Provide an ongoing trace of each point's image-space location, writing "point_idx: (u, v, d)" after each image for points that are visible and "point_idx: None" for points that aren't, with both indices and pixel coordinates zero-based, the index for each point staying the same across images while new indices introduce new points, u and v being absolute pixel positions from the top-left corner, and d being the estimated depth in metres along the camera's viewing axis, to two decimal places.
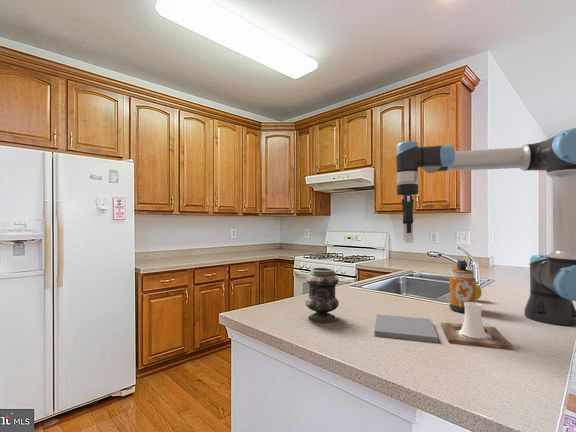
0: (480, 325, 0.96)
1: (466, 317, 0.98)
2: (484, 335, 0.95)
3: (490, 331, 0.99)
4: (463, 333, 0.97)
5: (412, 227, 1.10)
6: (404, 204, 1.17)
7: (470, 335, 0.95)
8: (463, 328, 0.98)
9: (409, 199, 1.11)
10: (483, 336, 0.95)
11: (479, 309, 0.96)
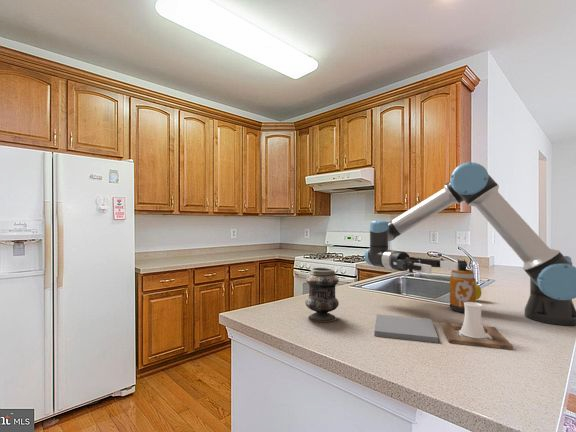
0: (480, 325, 0.96)
1: (466, 317, 0.98)
2: (484, 335, 0.95)
3: (490, 331, 0.99)
4: (463, 333, 0.97)
5: (416, 263, 1.08)
6: None
7: (470, 335, 0.95)
8: (463, 328, 0.98)
9: (395, 262, 1.17)
10: (483, 336, 0.95)
11: (479, 309, 0.96)
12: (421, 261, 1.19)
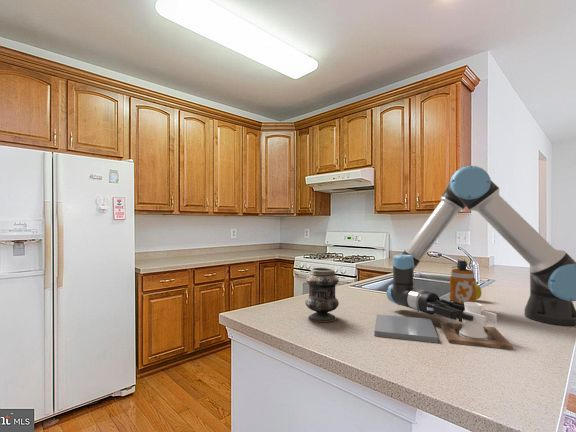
0: (480, 325, 0.96)
1: None
2: (484, 335, 0.95)
3: (490, 331, 0.99)
4: (463, 333, 0.97)
5: (467, 312, 0.96)
6: None
7: (470, 335, 0.95)
8: (463, 328, 0.98)
9: (430, 308, 1.04)
10: (483, 336, 0.95)
11: (479, 309, 0.96)
12: (452, 306, 1.06)
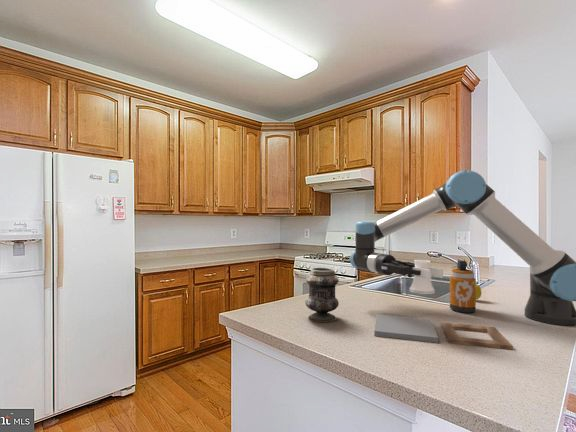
0: (428, 280, 1.00)
1: None
2: (431, 289, 1.00)
3: (490, 331, 0.99)
4: (412, 288, 1.02)
5: (415, 268, 1.01)
6: None
7: (418, 289, 1.00)
8: (412, 283, 1.03)
9: (384, 267, 1.09)
10: (430, 290, 0.99)
11: (427, 265, 1.01)
12: (405, 265, 1.10)
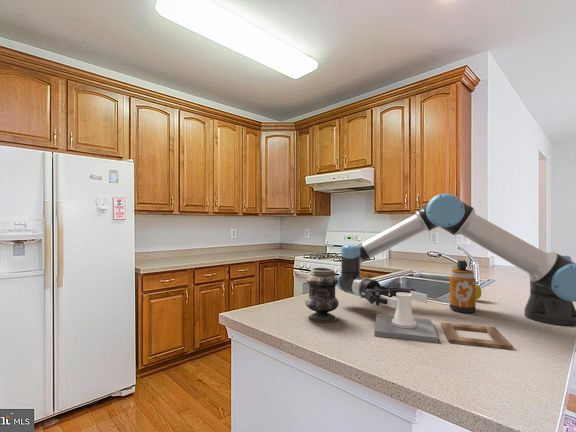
0: (409, 314, 1.02)
1: (397, 306, 1.04)
2: (412, 323, 1.01)
3: (490, 331, 0.99)
4: (394, 321, 1.03)
5: (383, 296, 1.03)
6: None
7: (399, 323, 1.01)
8: (394, 317, 1.04)
9: (363, 292, 1.11)
10: (411, 324, 1.01)
11: (408, 299, 1.02)
12: (391, 291, 1.13)
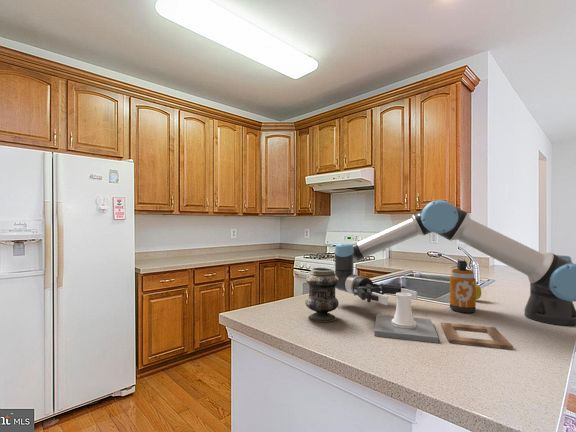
0: (409, 314, 1.02)
1: (397, 306, 1.04)
2: (412, 323, 1.01)
3: (490, 331, 0.99)
4: (394, 321, 1.03)
5: (374, 293, 1.05)
6: None
7: (399, 323, 1.01)
8: (394, 317, 1.04)
9: (355, 290, 1.14)
10: (411, 324, 1.01)
11: (408, 299, 1.02)
12: (383, 288, 1.16)
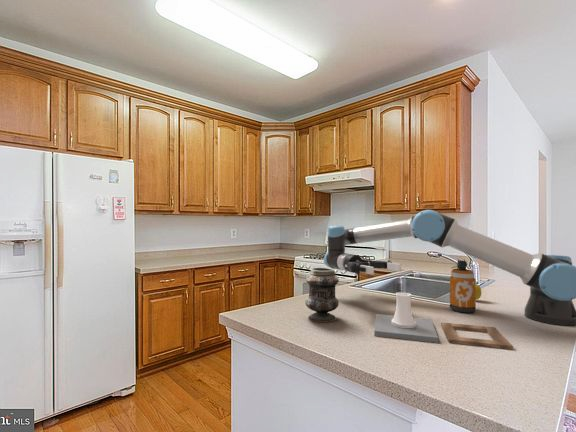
0: (409, 313, 1.02)
1: (397, 306, 1.04)
2: (412, 323, 1.01)
3: (490, 331, 0.99)
4: (394, 321, 1.03)
5: (362, 265, 1.17)
6: None
7: (399, 323, 1.02)
8: (394, 317, 1.04)
9: (346, 265, 1.26)
10: (411, 324, 1.01)
11: (408, 298, 1.02)
12: (371, 263, 1.28)
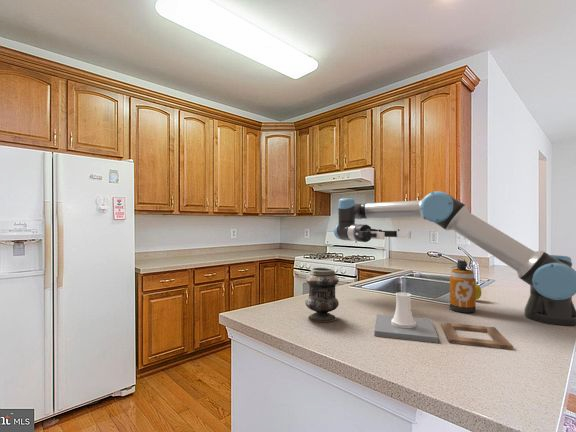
0: (408, 313, 1.02)
1: (397, 306, 1.04)
2: (412, 323, 1.01)
3: (490, 331, 0.99)
4: (393, 321, 1.03)
5: (373, 231, 1.21)
6: None
7: (399, 323, 1.02)
8: (394, 317, 1.04)
9: (357, 233, 1.30)
10: (410, 324, 1.01)
11: (407, 298, 1.02)
12: (381, 232, 1.32)
